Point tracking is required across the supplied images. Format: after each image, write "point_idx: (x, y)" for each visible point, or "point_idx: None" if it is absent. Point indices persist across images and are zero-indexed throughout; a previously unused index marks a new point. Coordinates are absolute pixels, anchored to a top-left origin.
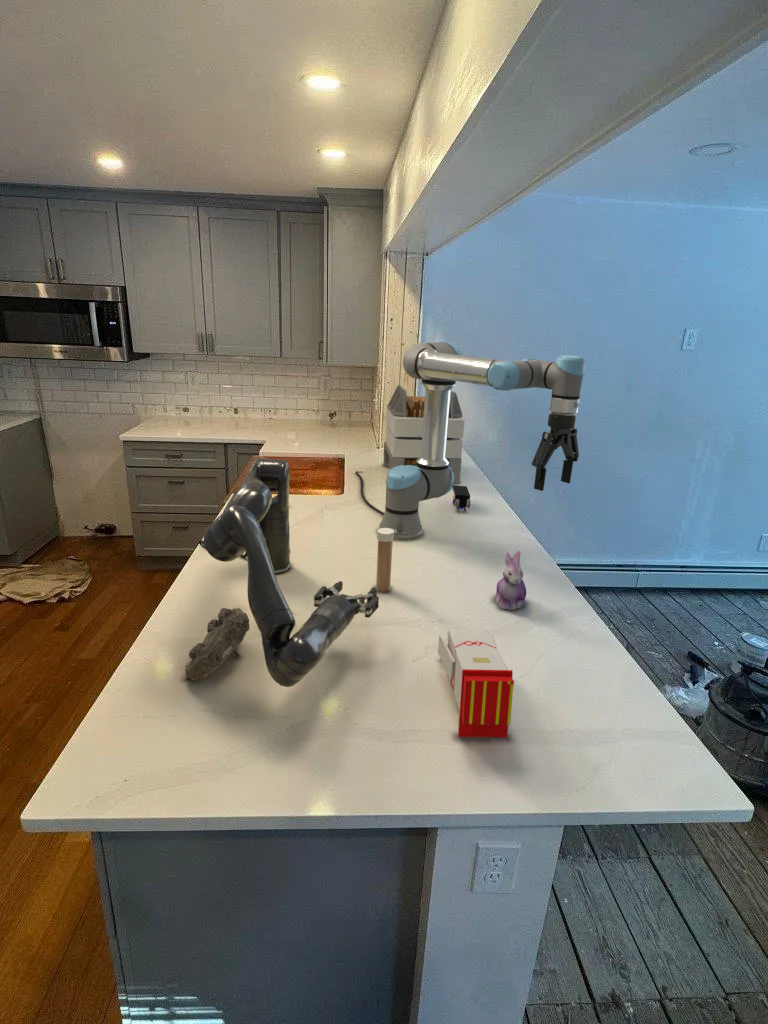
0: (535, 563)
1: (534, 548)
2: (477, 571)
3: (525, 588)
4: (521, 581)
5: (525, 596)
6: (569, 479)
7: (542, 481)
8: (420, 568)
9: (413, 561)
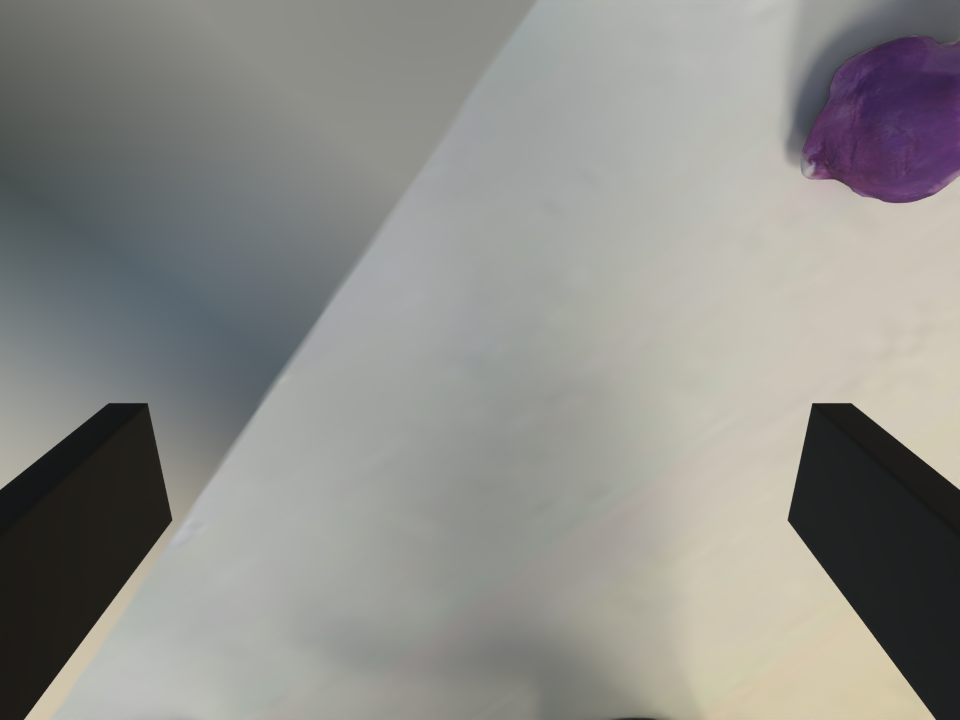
0: (405, 298)
1: (262, 405)
2: (704, 400)
3: (902, 51)
4: (939, 72)
5: (884, 43)
6: (104, 432)
7: (945, 492)
8: None
9: (820, 596)
